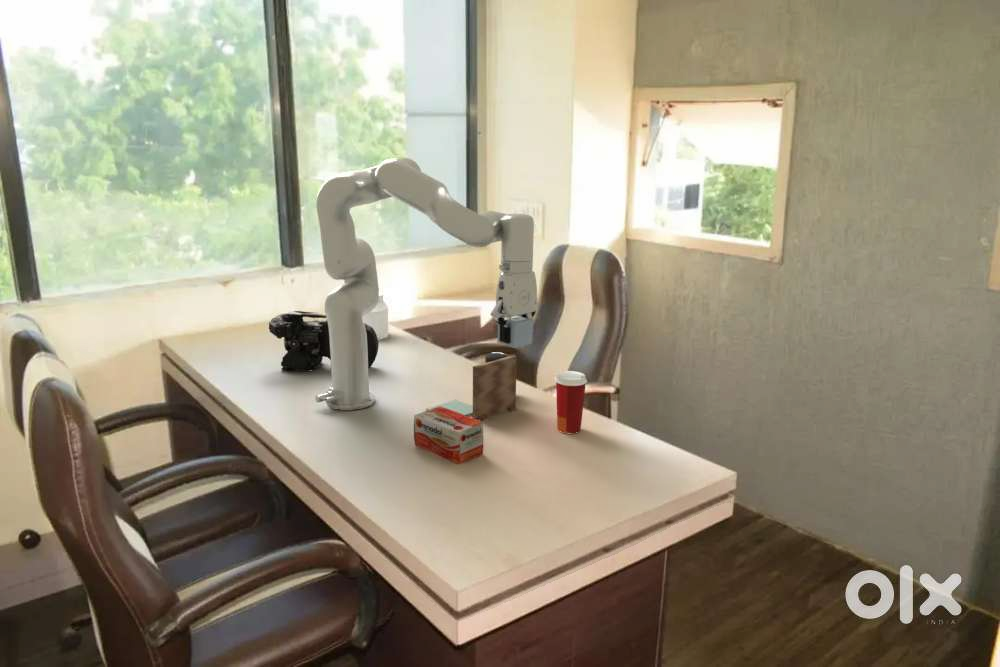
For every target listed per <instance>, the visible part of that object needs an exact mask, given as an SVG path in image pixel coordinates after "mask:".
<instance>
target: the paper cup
mask: <svg viewBox="0 0 1000 667" xmlns="http://www.w3.org/2000/svg"><path fill="white" fill-rule="evenodd" d="M586 377H587V376H586V375H585V374H584V373H582V372H580V371H573V370H565V371H560V372H559V373H557V374H556V376H555V378H554V382H555V385H556V387H555V389H556V390H555V391H556V396H555V397H556V424H557V431H558V430H559V431H561V432H564V433H576V432H579V431H580V432H581V429H582V428H581V427H582V421H583V411H584V404H585V403H584V402H585V394H586V383H588V379H587V378H586ZM559 431H558V432H559ZM561 432H560V433H561ZM580 432H579V433H580ZM564 433H563V434H564ZM576 434H577V433H576Z"/></svg>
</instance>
